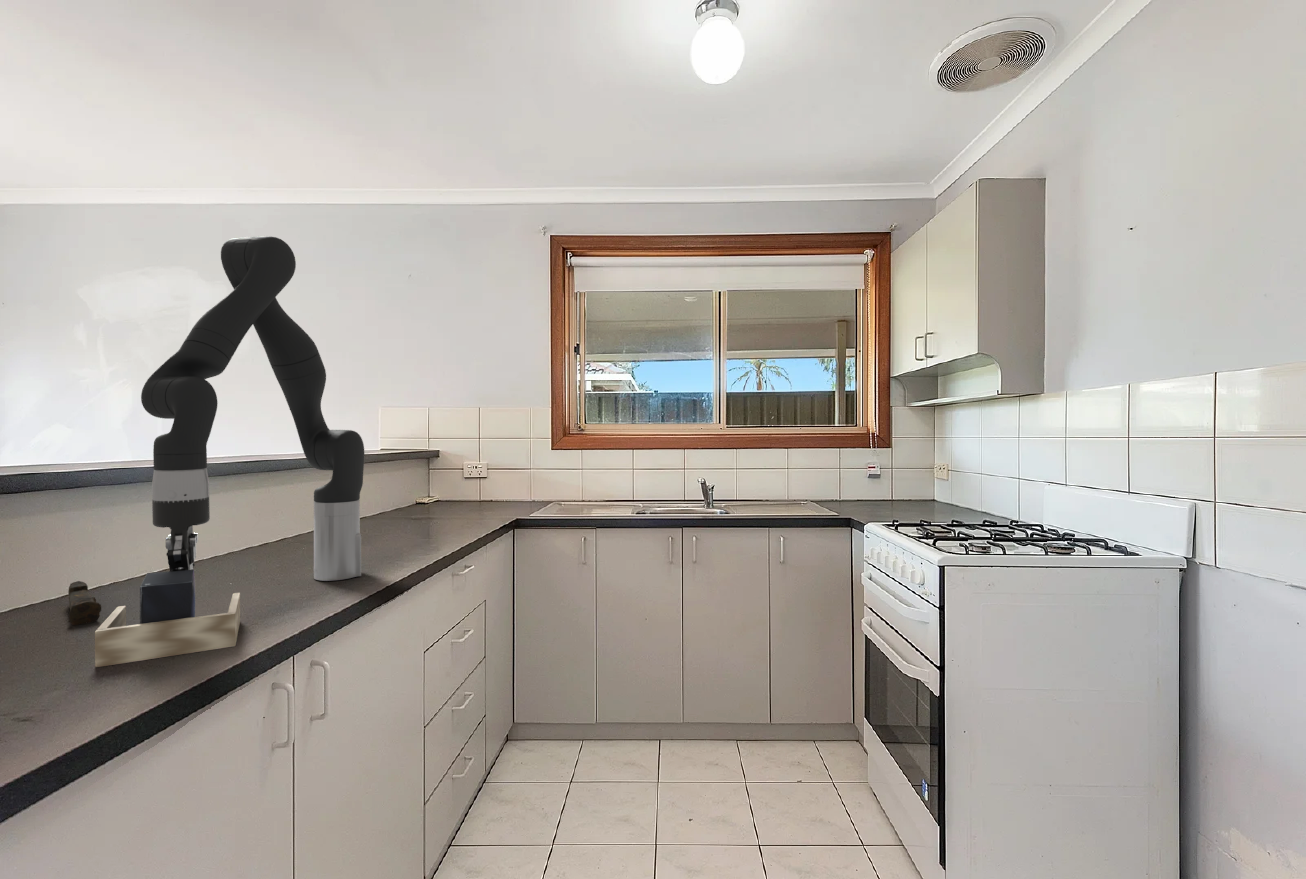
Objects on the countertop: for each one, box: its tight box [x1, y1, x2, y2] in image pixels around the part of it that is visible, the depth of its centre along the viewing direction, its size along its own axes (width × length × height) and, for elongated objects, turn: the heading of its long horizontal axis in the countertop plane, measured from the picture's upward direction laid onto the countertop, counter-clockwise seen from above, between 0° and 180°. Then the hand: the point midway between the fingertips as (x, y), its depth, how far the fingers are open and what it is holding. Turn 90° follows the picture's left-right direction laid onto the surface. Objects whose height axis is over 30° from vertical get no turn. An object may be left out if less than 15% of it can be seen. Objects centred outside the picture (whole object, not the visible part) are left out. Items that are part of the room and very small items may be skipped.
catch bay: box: [94, 592, 241, 668], centre depth 93 cm, size 16×14×5 cm
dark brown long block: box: [67, 580, 102, 626], centre depth 109 cm, size 19×4×5 cm, turn 45°
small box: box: [139, 569, 196, 624], centre depth 93 cm, size 11×6×10 cm, turn 36°
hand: (183, 598), depth 101 cm, fingers closed
